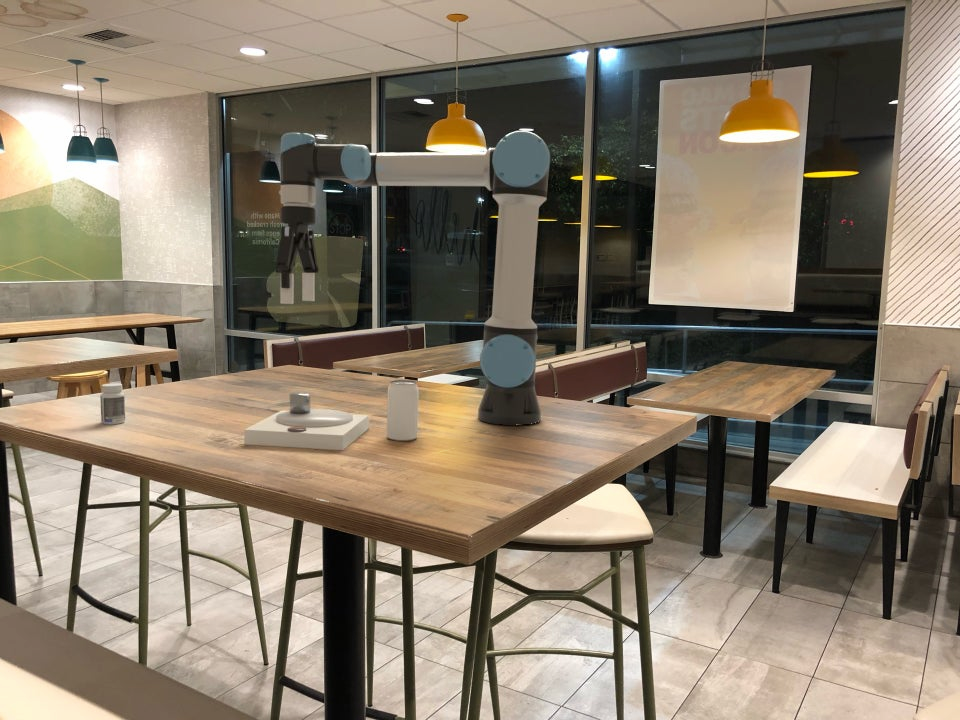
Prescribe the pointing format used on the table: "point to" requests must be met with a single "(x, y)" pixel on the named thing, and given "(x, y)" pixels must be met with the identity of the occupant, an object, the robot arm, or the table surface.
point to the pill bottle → (112, 404)
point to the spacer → (299, 403)
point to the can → (402, 410)
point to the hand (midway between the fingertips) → (298, 302)
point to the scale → (308, 429)
